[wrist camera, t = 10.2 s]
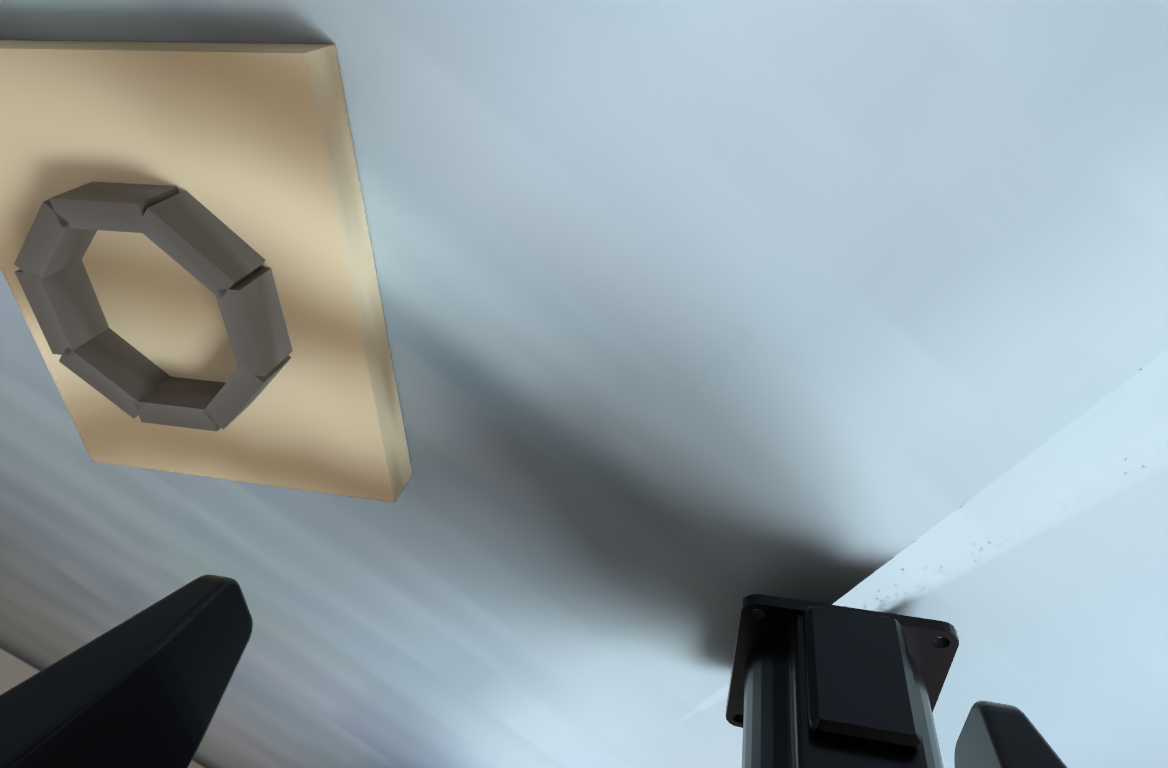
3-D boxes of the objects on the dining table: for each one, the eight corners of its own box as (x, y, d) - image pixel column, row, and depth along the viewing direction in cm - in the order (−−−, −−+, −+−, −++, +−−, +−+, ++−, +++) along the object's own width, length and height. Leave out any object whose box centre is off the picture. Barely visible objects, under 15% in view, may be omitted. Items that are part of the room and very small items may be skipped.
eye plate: (412, 474, 26) (375, 533, 24) (121, 437, 28) (59, 487, 26) (335, 44, 19) (268, 63, 16) (-53, 39, 21) (-164, 55, 18)
